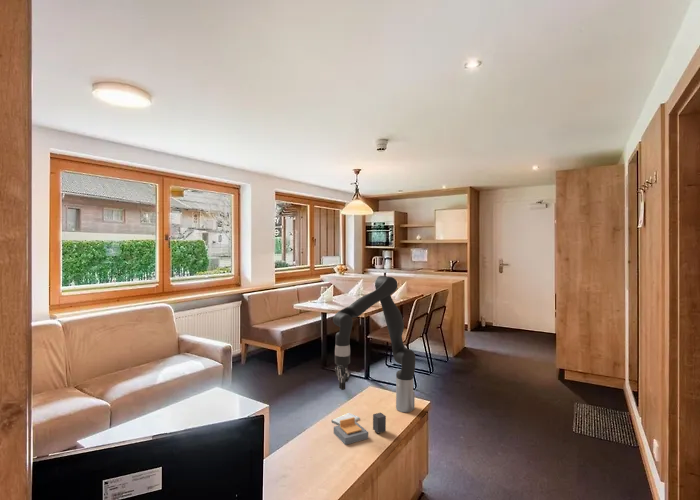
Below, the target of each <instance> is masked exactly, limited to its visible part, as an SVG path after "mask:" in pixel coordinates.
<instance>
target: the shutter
mask: <svg viewBox="0 0 700 500" xmlns="http://www.w3.org/2000/svg"><path fill="white" fill-rule="evenodd" d="M340 428H341V429H342V430H343V431H344V432H345V433H346V434H350V433H354V432H358V431H362V429H361V428H360V427H359V426H358V425H356V424H355V418H354V417H353V418H348V419H344V420H340Z"/></svg>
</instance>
